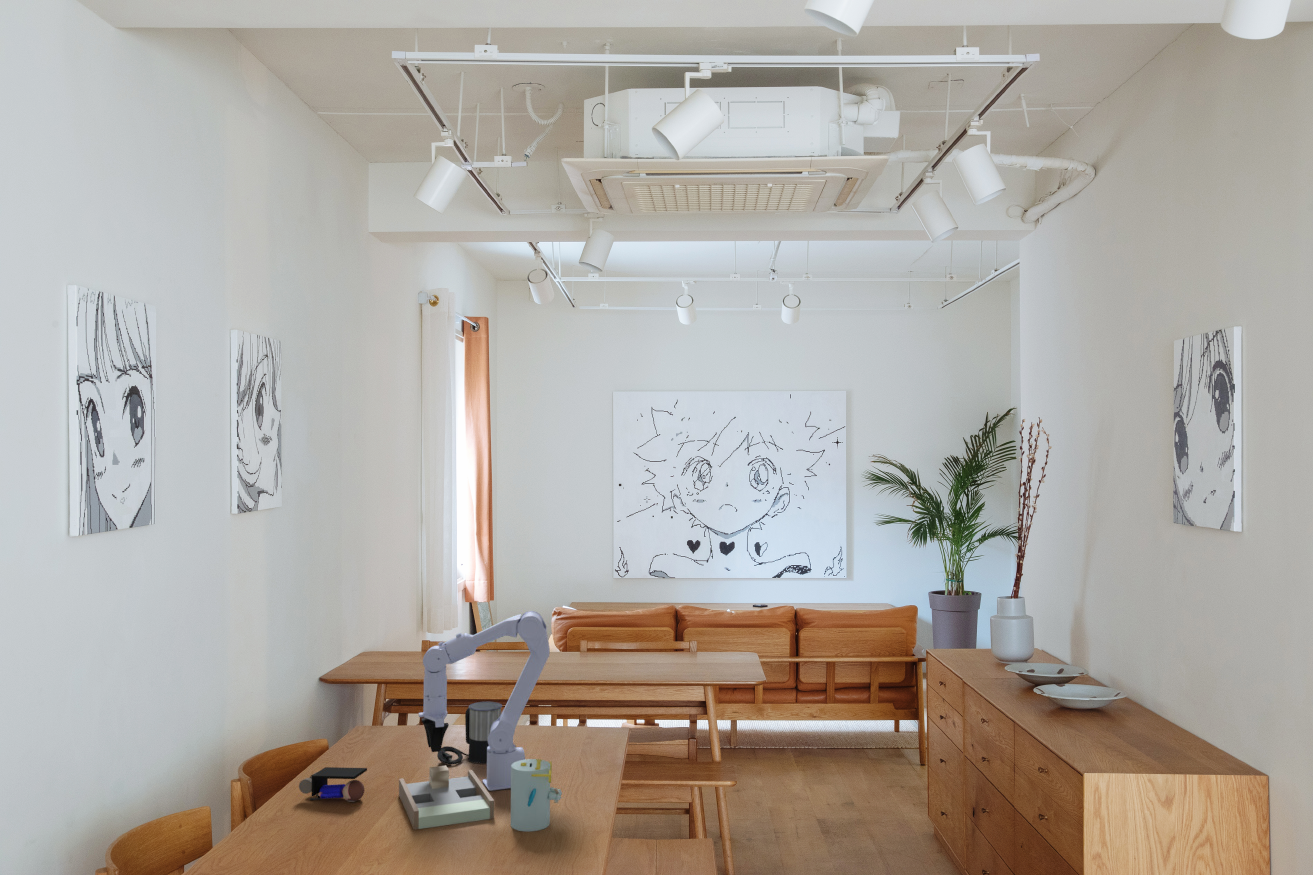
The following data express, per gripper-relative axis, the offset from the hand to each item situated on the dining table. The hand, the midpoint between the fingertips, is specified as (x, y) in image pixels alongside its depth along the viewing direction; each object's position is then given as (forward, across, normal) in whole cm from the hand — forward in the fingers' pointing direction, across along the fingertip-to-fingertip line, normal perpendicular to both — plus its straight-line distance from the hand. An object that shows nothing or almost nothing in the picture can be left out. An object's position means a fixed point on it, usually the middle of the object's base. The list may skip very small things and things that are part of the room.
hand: (434, 748), depth 234 cm
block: (+7, +7, 0) cm, 10 cm away
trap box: (+9, +15, 0) cm, 18 cm away
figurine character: (+10, 0, -24) cm, 26 cm away
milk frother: (+10, -18, +13) cm, 24 cm away
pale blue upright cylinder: (+10, +34, +17) cm, 39 cm away
